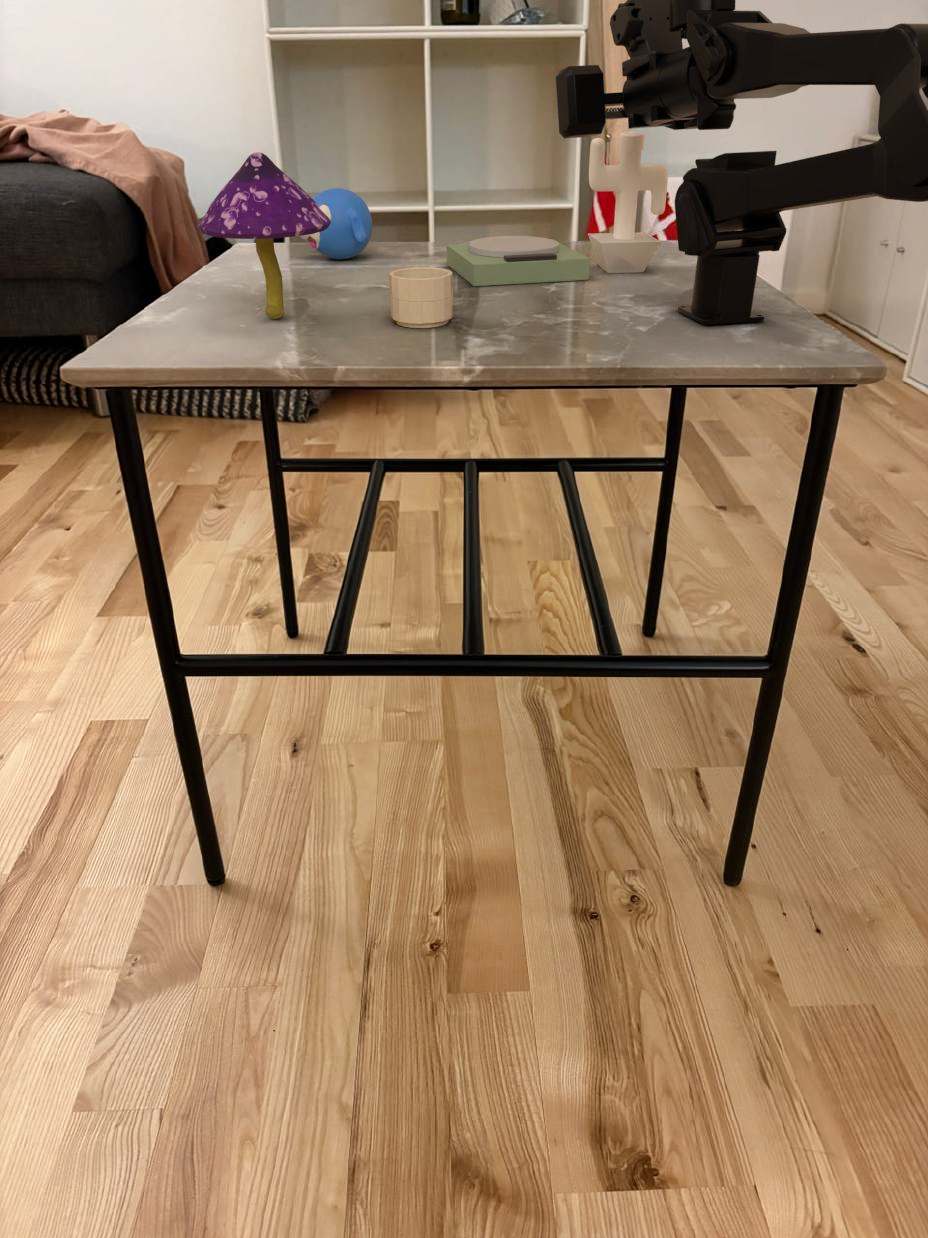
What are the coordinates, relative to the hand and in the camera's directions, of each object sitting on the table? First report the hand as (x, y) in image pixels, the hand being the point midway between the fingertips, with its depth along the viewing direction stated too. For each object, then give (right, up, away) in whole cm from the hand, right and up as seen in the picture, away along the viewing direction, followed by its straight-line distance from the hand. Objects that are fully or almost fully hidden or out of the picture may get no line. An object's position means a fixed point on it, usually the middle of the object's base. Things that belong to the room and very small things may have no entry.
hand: (599, 112), depth 103 cm
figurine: (+4, -14, +10) cm, 18 cm away
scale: (-9, -14, +9) cm, 19 cm away
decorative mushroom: (-34, -27, -11) cm, 45 cm away
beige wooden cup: (-19, -27, -12) cm, 36 cm away
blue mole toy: (-33, -10, +17) cm, 38 cm away
